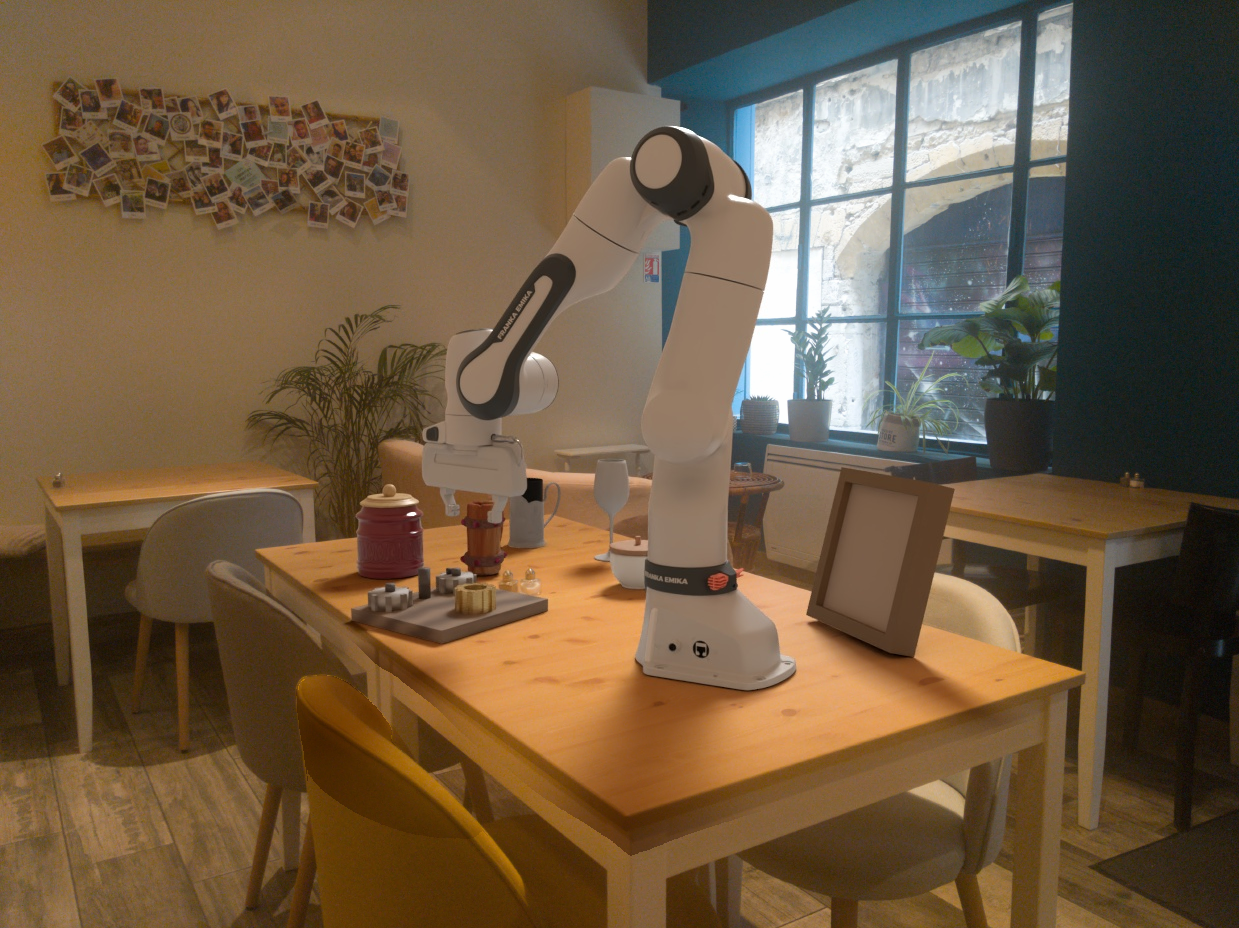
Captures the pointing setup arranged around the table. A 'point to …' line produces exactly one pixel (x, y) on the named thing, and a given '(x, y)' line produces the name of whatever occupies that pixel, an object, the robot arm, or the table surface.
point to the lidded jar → (629, 562)
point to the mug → (483, 539)
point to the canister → (389, 535)
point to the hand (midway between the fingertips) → (473, 519)
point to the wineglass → (611, 491)
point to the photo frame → (880, 558)
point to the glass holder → (529, 515)
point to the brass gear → (475, 598)
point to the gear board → (440, 608)
